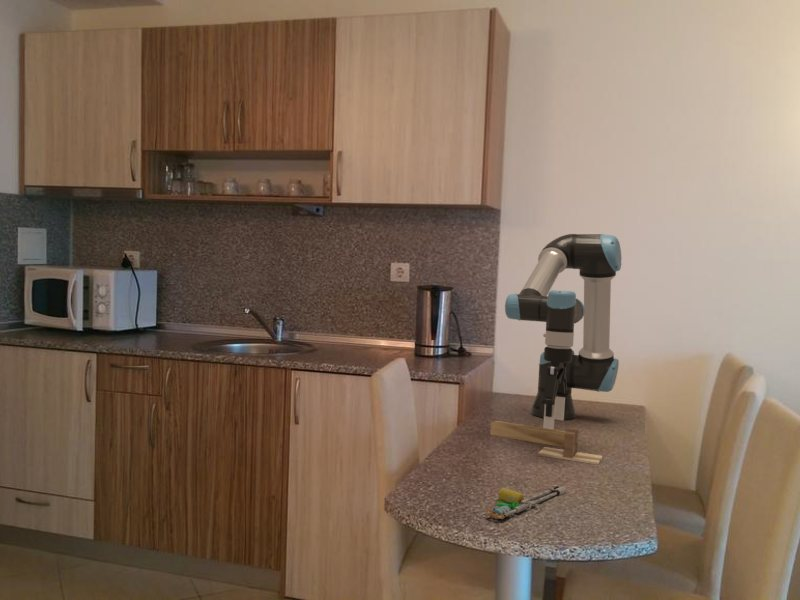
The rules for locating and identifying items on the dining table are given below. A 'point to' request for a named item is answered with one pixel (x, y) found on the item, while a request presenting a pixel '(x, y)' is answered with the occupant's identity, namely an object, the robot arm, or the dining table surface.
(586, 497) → the dining table surface
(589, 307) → the robot arm
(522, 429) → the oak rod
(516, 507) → the flamethrower
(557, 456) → the fulcrum stand
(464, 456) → the dining table surface
